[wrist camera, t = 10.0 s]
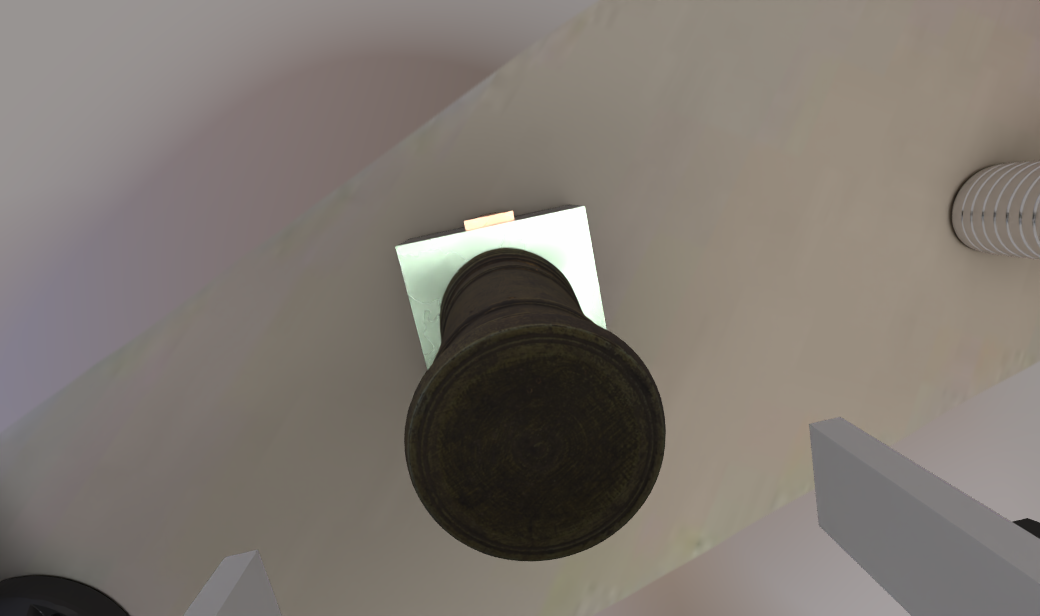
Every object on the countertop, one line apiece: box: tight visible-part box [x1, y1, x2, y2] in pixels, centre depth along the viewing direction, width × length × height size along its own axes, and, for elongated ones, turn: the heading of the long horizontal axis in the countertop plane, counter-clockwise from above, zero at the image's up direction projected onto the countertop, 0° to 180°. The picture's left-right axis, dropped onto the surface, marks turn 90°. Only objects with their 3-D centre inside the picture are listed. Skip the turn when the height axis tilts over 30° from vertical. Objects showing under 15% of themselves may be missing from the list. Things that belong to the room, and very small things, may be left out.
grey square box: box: [396, 205, 607, 370], centre depth 37 cm, size 12×13×6 cm
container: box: [404, 248, 666, 561], centre depth 25 cm, size 9×9×18 cm
